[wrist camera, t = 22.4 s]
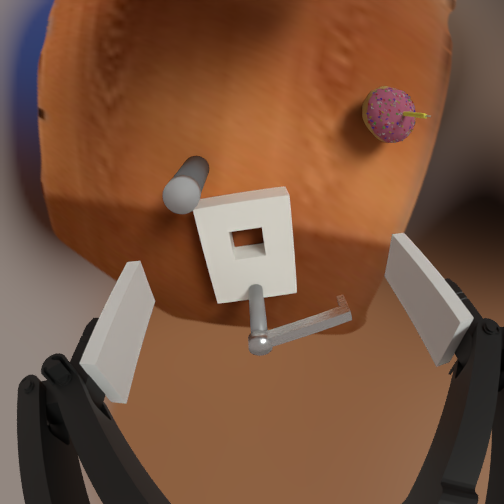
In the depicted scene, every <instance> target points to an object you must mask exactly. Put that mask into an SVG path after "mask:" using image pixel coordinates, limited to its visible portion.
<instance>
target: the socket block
mask: <svg viewBox="0 0 504 504" xmlns="http://www.w3.org/2000/svg"><path fill="white" fill-rule="evenodd" d="M193 213H194V217H195V221H196V225H197V229H198V232H199V236H200V240H201V244H202V248H203V252H204V255H205V259H206V263H207V267H208V270H209V274H210V278H211V281H212V285H213V288H214V292H215V295H216V299H217V302H218V303H227V302H235V301H242V300H249V307H250V325H251V333H252V332H254V331H257V330H264V331H267V322H266V313H265V305H264V297H272V296H278V295H285V294H292V293H297V286H296V271H295V256H294V243H293V231H292V219H291V208H290V197H289V193H288V191H287V189H286V187H285V186H284V187H276V188H269V189H261V190H254V191H248V192H241V193H234V194H228V195H222V196H216V197H210V198H204V199H200V200H199V203H198V205H197V207H196V208H195V209H194V210H193ZM260 227H262V233H263V240H264V243H261V244H254V245H247V246H240V247H235V246H234V241H233V236H232V232H233V231H240V230H247V229H253V228H260Z"/></svg>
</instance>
